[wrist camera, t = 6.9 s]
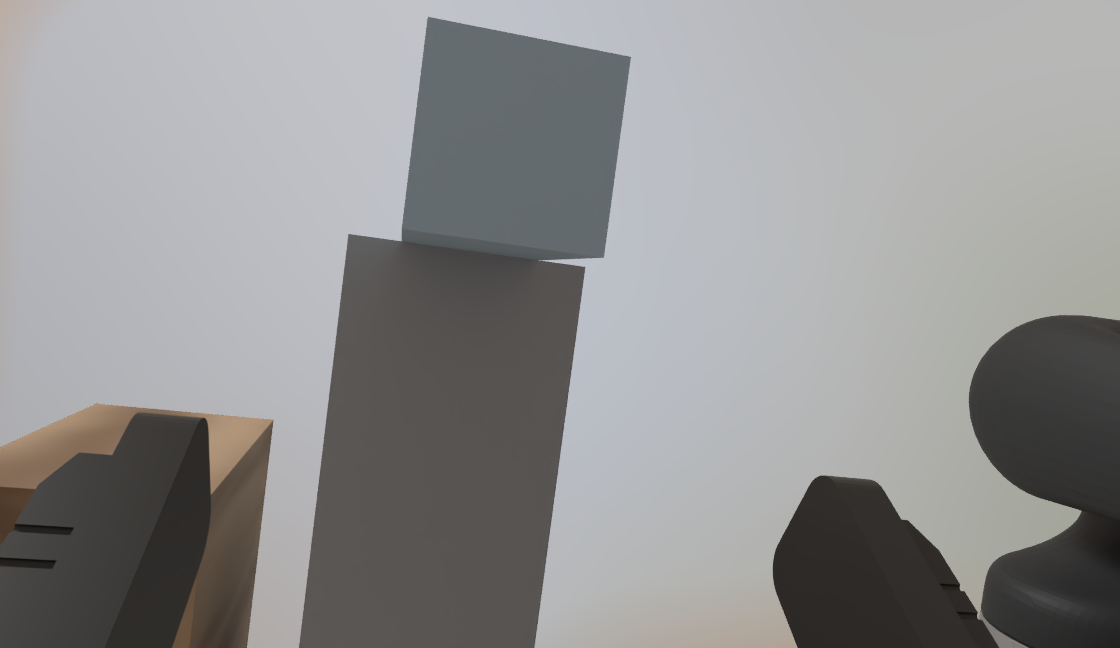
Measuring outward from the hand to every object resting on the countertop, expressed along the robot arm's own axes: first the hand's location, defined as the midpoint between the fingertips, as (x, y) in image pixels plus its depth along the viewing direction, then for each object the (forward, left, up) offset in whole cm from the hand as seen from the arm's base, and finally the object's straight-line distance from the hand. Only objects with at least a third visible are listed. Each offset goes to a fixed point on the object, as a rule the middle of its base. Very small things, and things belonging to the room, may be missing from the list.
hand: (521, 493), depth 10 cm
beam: (0, -16, +3) cm, 17 cm away
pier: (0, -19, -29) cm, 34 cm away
